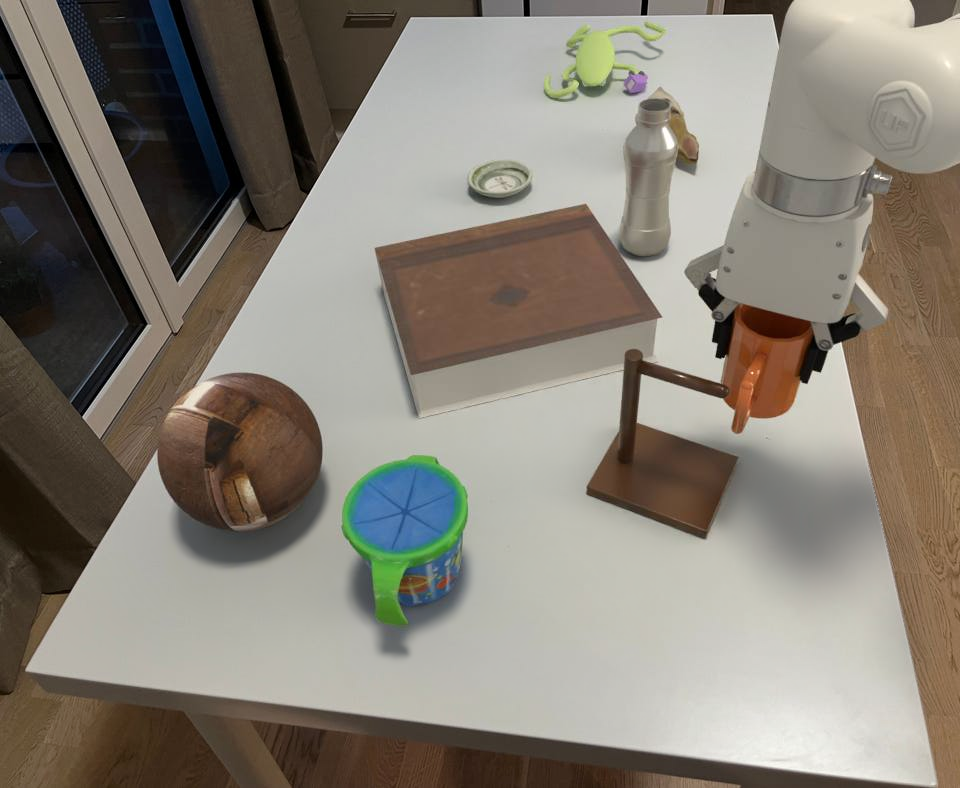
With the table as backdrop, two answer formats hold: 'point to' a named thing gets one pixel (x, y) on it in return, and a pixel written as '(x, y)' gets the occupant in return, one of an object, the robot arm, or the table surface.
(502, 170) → the saucer
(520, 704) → the table surface
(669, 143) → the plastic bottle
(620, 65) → the figurine
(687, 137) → the ceramic sculpture
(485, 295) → the book
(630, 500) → the mug stand
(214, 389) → the wooden sphere
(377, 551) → the snack cup
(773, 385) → the mug
